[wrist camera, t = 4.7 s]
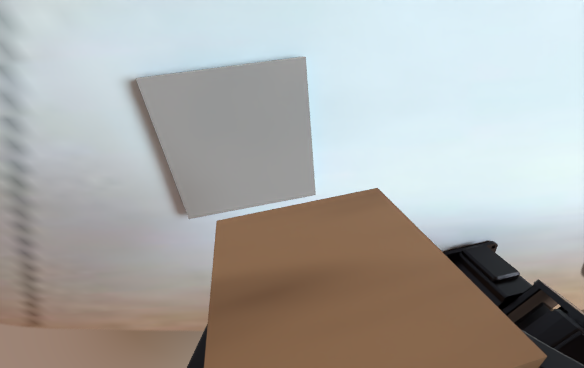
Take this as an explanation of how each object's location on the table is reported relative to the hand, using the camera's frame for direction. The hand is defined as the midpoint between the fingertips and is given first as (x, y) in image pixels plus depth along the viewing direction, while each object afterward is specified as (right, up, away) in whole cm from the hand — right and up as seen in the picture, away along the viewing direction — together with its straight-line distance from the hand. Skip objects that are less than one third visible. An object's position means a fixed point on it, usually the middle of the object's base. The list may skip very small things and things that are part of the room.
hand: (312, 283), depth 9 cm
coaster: (-4, +6, +9) cm, 12 cm away
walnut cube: (0, 0, +1) cm, 1 cm away
